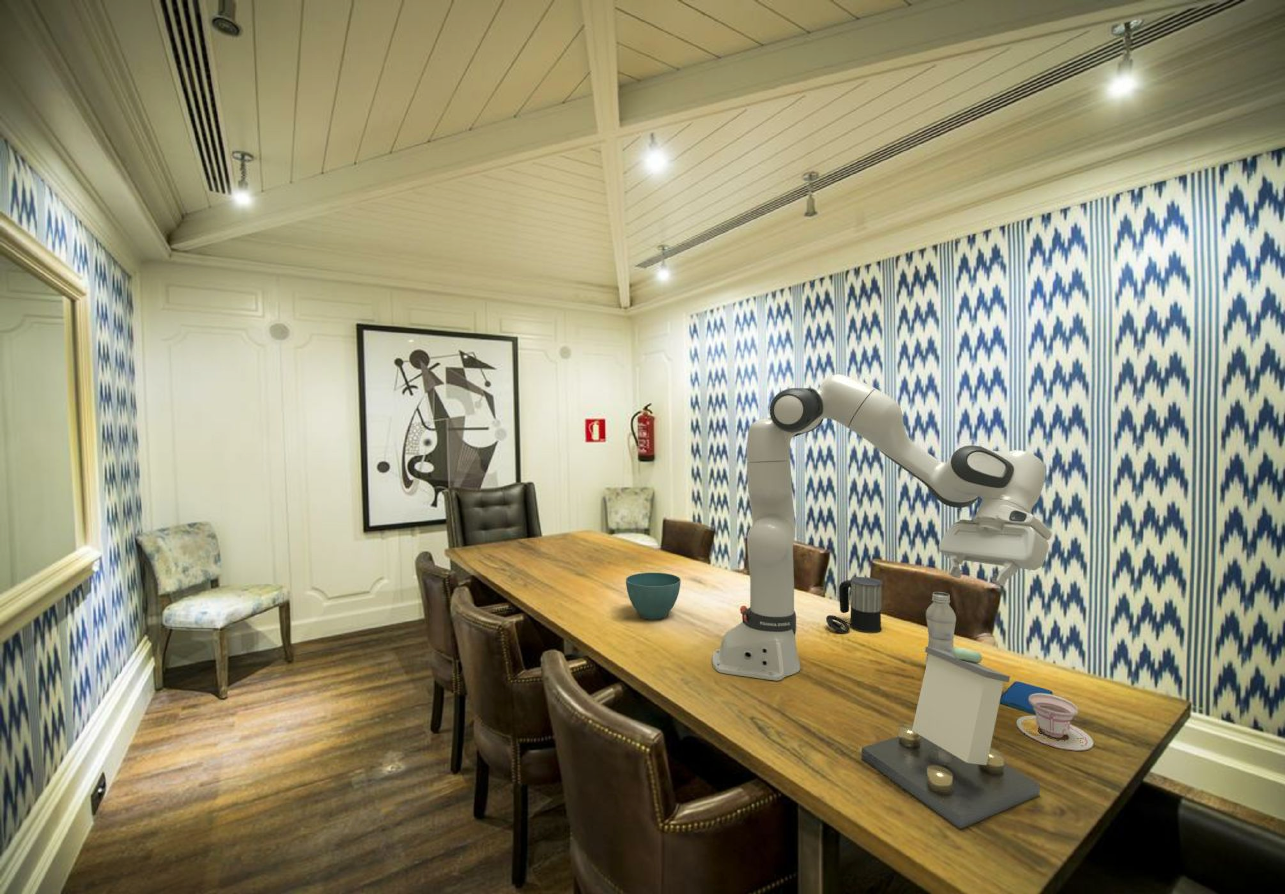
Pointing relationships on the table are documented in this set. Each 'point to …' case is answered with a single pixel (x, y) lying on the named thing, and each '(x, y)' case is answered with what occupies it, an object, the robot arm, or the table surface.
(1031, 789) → the base
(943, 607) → the plastic bottle
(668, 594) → the plant pot
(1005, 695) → the smartphone
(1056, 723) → the teacup
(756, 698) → the table surface
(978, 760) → the instrument head
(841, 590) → the milk frother
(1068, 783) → the table surface
